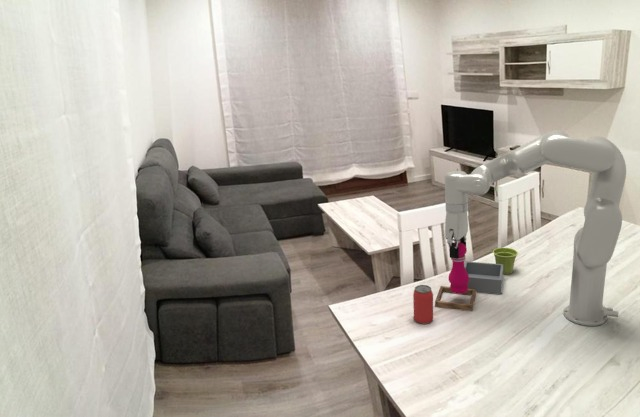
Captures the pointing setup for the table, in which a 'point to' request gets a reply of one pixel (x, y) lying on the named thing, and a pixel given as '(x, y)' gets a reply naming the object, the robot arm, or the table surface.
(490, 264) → the bin
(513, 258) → the plant pot
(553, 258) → the table surface
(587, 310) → the robot arm
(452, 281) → the pepper mill
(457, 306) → the brown wooden picture frame
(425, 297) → the beer can
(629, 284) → the table surface
